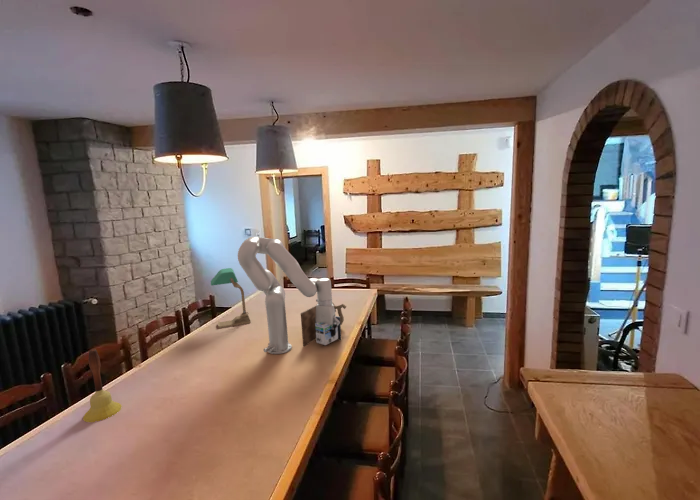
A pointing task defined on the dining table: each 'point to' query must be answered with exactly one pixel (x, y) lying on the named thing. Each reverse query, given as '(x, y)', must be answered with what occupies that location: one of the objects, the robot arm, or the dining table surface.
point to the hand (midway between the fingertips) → (327, 334)
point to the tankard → (340, 311)
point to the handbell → (99, 394)
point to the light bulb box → (325, 333)
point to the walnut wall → (308, 325)
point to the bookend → (339, 329)
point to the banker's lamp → (229, 277)
